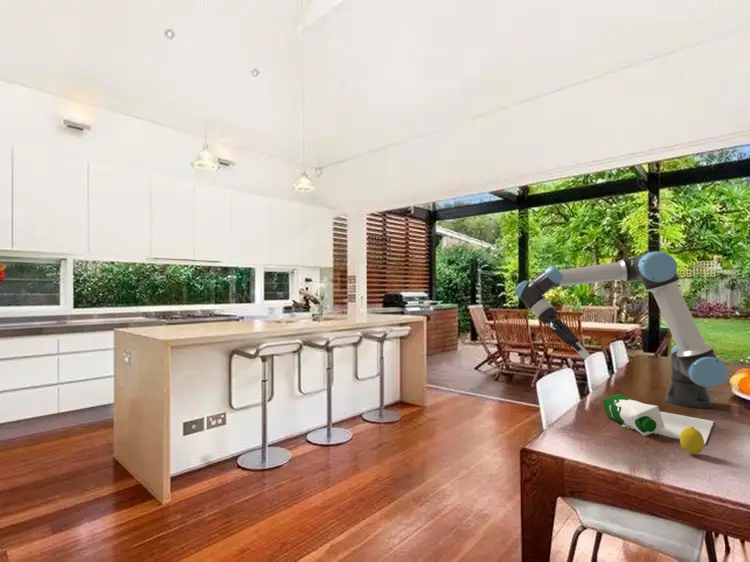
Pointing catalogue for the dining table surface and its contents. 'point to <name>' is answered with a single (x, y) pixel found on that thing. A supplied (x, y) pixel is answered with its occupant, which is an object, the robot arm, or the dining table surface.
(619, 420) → the soya milk
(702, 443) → the lemon
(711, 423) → the mat
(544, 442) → the dining table surface
